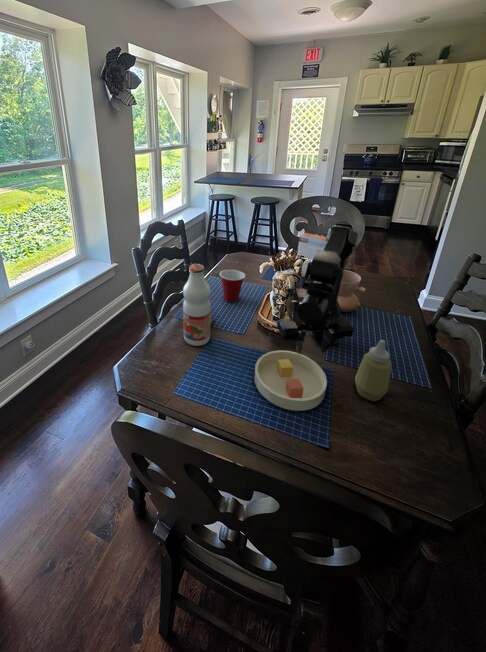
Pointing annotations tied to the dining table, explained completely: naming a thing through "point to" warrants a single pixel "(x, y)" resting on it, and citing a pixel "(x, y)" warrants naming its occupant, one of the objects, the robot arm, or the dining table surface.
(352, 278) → the ceramic jug
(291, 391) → the terracotta block
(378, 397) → the squeeze bottle
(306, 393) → the bowl
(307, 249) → the cracker box
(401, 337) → the dining table surface
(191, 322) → the fruit juice
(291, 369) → the mustard block
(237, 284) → the plastic cup
